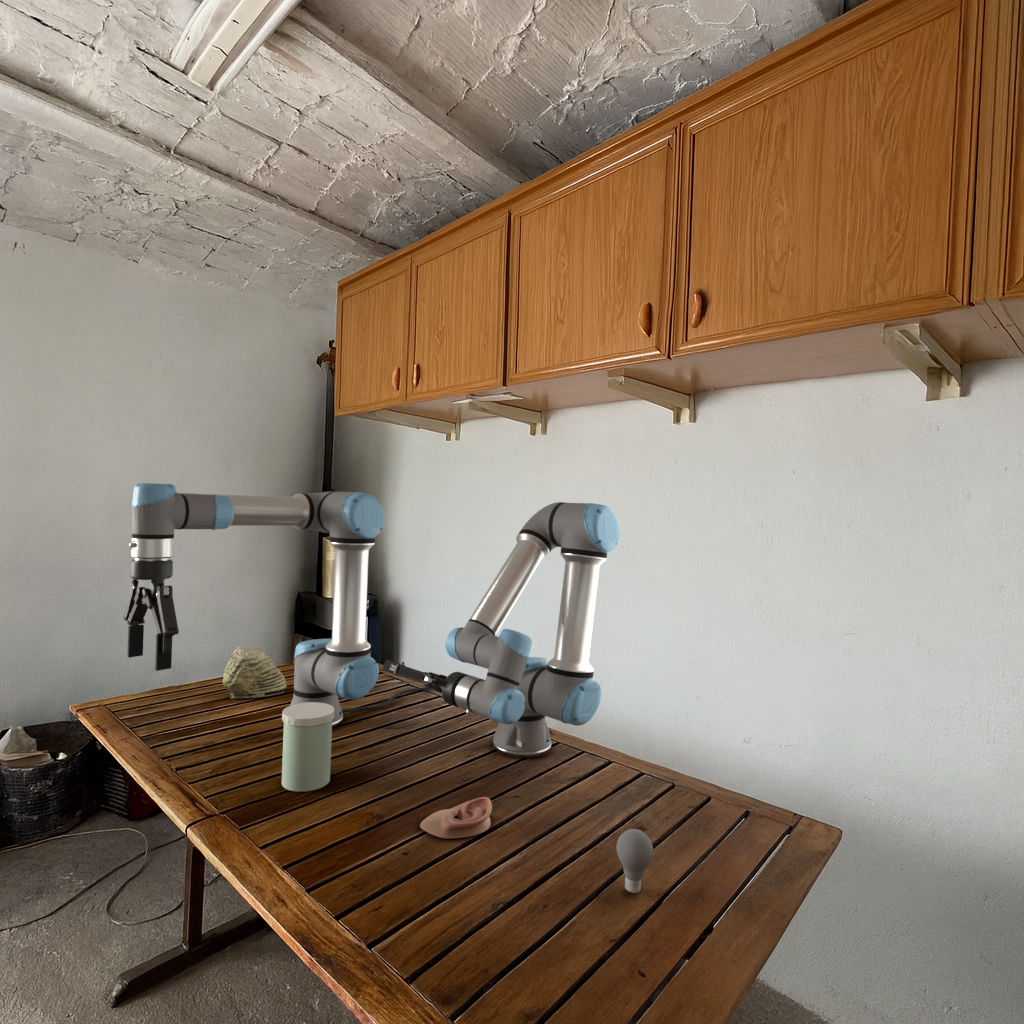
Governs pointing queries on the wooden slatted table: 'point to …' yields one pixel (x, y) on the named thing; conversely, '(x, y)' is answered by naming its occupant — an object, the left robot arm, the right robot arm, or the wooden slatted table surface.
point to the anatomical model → (460, 820)
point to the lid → (308, 714)
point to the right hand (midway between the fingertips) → (405, 671)
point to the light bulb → (634, 857)
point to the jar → (306, 756)
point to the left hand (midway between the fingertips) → (148, 662)
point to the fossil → (252, 674)
